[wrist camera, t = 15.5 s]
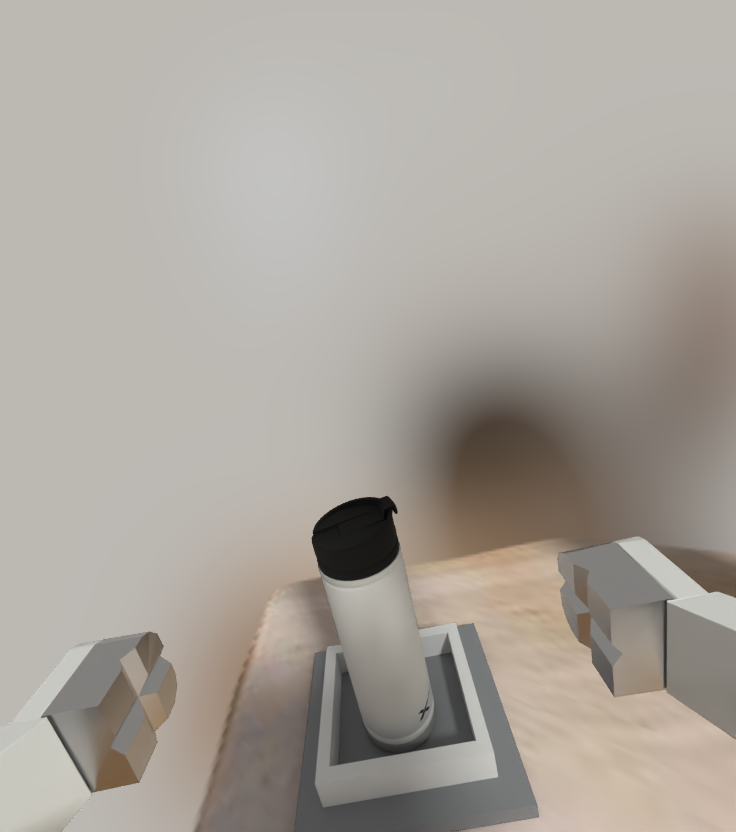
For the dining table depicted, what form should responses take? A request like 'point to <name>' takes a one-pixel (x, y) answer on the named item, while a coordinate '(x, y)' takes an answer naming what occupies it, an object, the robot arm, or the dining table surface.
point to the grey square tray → (413, 751)
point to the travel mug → (376, 621)
